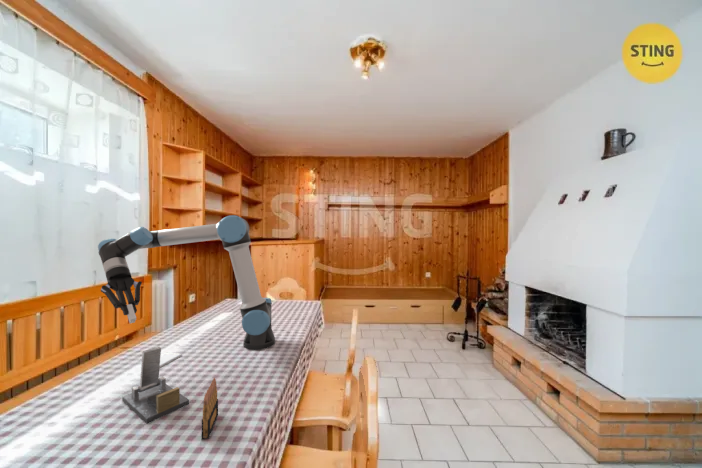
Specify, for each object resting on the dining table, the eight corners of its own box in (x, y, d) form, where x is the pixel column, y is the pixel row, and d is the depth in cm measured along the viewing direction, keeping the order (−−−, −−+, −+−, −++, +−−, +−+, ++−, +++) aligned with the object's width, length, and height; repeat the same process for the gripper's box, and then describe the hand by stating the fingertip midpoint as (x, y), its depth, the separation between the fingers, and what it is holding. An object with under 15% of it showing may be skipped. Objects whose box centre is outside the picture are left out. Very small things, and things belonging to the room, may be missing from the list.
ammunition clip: (211, 415, 89) (211, 376, 89) (218, 414, 89) (218, 375, 89) (201, 439, 78) (201, 395, 78) (208, 438, 79) (208, 394, 79)
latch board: (122, 401, 96) (122, 381, 96) (162, 385, 106) (162, 367, 106) (146, 424, 85) (146, 401, 85) (189, 404, 95) (189, 384, 95)
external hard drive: (181, 357, 132) (158, 370, 120) (166, 355, 133) (141, 368, 121) (181, 353, 132) (158, 366, 120) (166, 352, 133) (141, 364, 121)
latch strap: (137, 391, 97) (140, 351, 95) (157, 383, 101) (160, 345, 100) (139, 394, 95) (142, 353, 94) (160, 386, 100) (163, 348, 99)
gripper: (134, 275, 123) (150, 322, 113) (94, 279, 112) (108, 331, 102) (139, 264, 120) (156, 310, 110) (98, 266, 109) (113, 319, 99)
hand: (133, 320), depth 106 cm, fingers closed
